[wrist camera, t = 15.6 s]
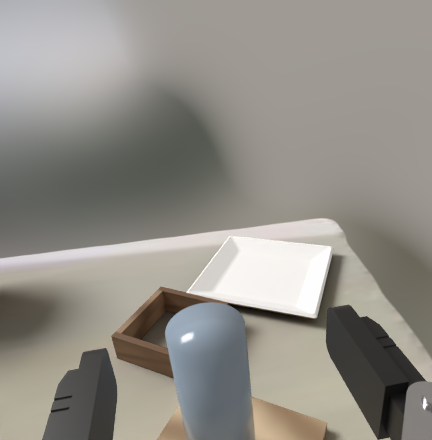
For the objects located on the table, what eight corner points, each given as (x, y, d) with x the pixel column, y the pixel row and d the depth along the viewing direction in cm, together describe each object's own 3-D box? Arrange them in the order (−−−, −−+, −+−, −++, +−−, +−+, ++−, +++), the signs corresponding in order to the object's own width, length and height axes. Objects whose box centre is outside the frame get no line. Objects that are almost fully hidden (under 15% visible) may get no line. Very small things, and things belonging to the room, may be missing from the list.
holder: (191, 384, 41) (187, 361, 40) (117, 357, 46) (111, 336, 45) (230, 323, 50) (228, 302, 48) (164, 306, 54) (160, 286, 53)
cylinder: (223, 517, 28) (199, 370, 22) (180, 465, 32) (149, 329, 26) (271, 464, 32) (261, 324, 26) (226, 423, 36) (209, 293, 30)
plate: (230, 244, 70) (229, 234, 69) (333, 256, 63) (334, 245, 62) (186, 304, 55) (184, 293, 54) (316, 329, 48) (316, 317, 47)
